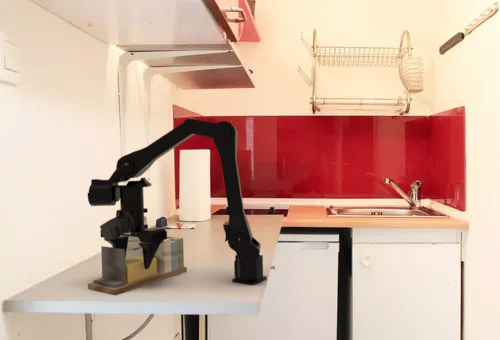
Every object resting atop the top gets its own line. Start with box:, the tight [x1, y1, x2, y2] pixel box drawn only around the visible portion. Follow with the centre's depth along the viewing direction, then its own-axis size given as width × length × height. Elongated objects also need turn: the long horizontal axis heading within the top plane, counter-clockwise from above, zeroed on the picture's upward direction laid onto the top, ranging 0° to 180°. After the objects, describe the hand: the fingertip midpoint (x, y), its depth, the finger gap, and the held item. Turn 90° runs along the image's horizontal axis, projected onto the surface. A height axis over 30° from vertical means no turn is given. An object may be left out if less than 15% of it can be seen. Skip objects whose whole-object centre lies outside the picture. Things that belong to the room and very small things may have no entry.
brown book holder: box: [87, 235, 188, 296], centre depth 113 cm, size 10×24×10 cm, turn 146°
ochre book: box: [125, 256, 157, 283], centre depth 111 cm, size 6×10×4 cm, turn 149°
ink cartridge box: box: [125, 215, 148, 260], centre depth 125 cm, size 9×5×15 cm, turn 92°
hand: (134, 266), depth 111 cm, fingers open, 9 cm apart
